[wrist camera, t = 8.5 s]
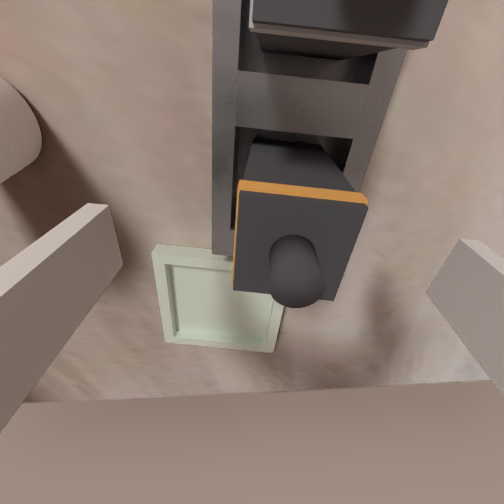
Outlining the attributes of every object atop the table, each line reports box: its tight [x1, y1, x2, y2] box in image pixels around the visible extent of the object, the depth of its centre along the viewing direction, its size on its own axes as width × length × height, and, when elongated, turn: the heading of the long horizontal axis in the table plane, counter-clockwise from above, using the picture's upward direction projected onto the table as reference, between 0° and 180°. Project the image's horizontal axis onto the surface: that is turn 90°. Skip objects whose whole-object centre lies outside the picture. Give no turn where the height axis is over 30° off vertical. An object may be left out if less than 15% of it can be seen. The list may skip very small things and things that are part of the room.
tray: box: [151, 244, 284, 353], centre depth 26 cm, size 12×12×2 cm
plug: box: [232, 138, 369, 308], centre depth 13 cm, size 5×5×12 cm
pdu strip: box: [212, 0, 407, 257], centre depth 15 cm, size 9×20×4 cm, turn 175°
